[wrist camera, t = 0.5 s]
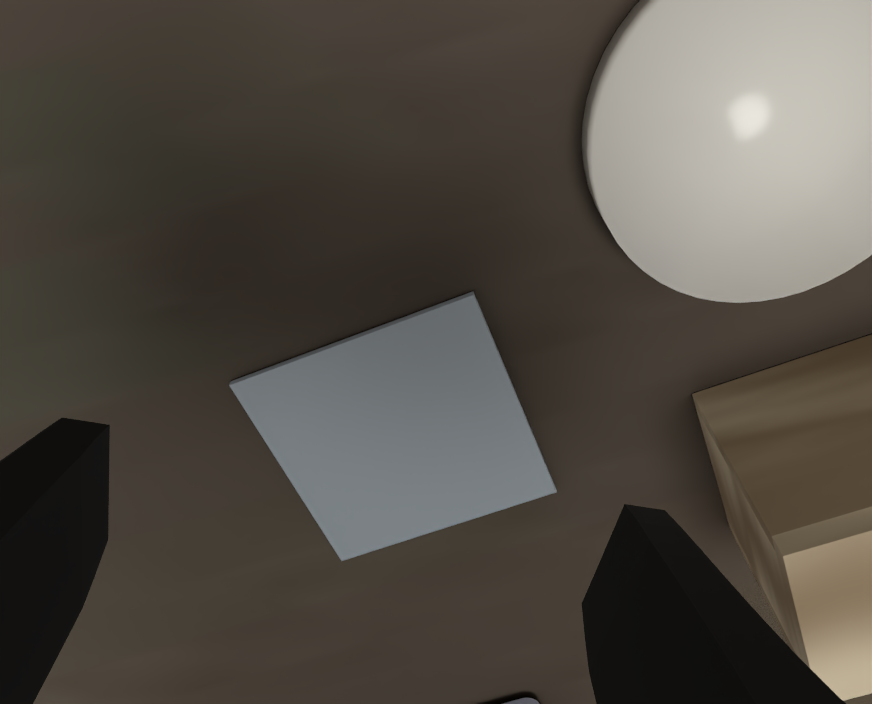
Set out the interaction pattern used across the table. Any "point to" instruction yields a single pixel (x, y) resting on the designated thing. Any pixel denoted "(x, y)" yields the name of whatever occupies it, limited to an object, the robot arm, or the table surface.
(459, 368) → the pad
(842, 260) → the dish
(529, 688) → the table surface
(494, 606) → the table surface
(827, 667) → the beige open box
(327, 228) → the table surface
